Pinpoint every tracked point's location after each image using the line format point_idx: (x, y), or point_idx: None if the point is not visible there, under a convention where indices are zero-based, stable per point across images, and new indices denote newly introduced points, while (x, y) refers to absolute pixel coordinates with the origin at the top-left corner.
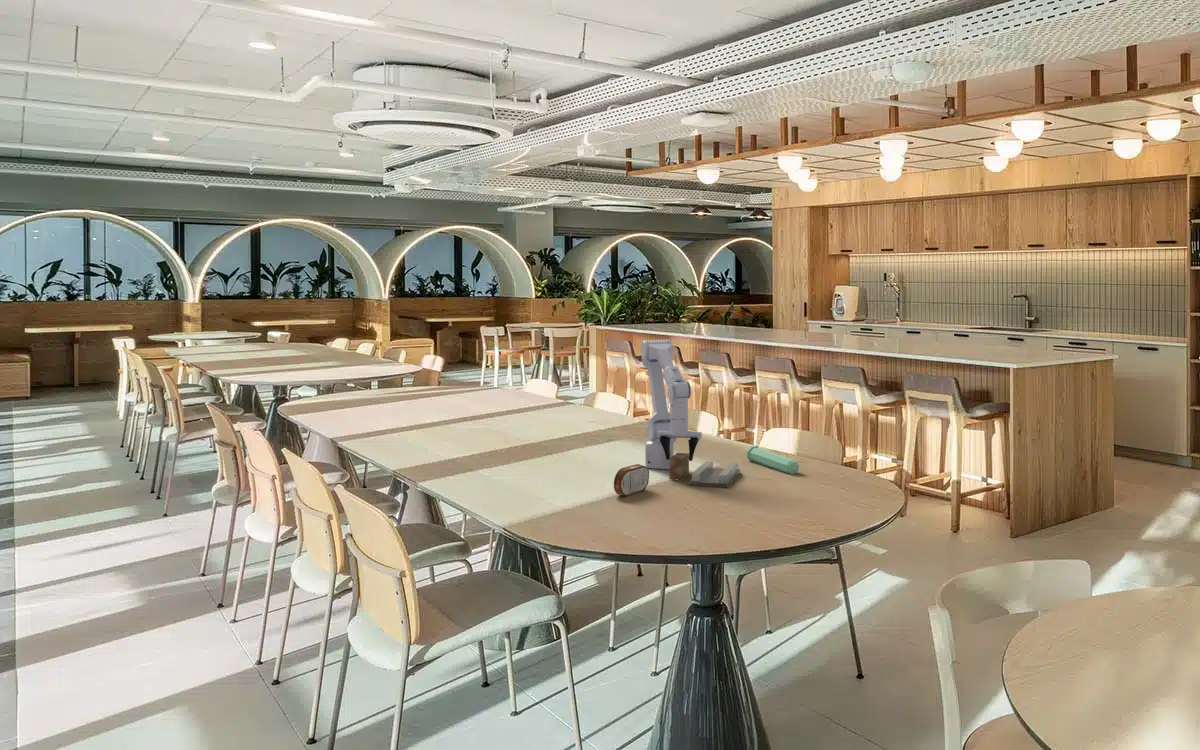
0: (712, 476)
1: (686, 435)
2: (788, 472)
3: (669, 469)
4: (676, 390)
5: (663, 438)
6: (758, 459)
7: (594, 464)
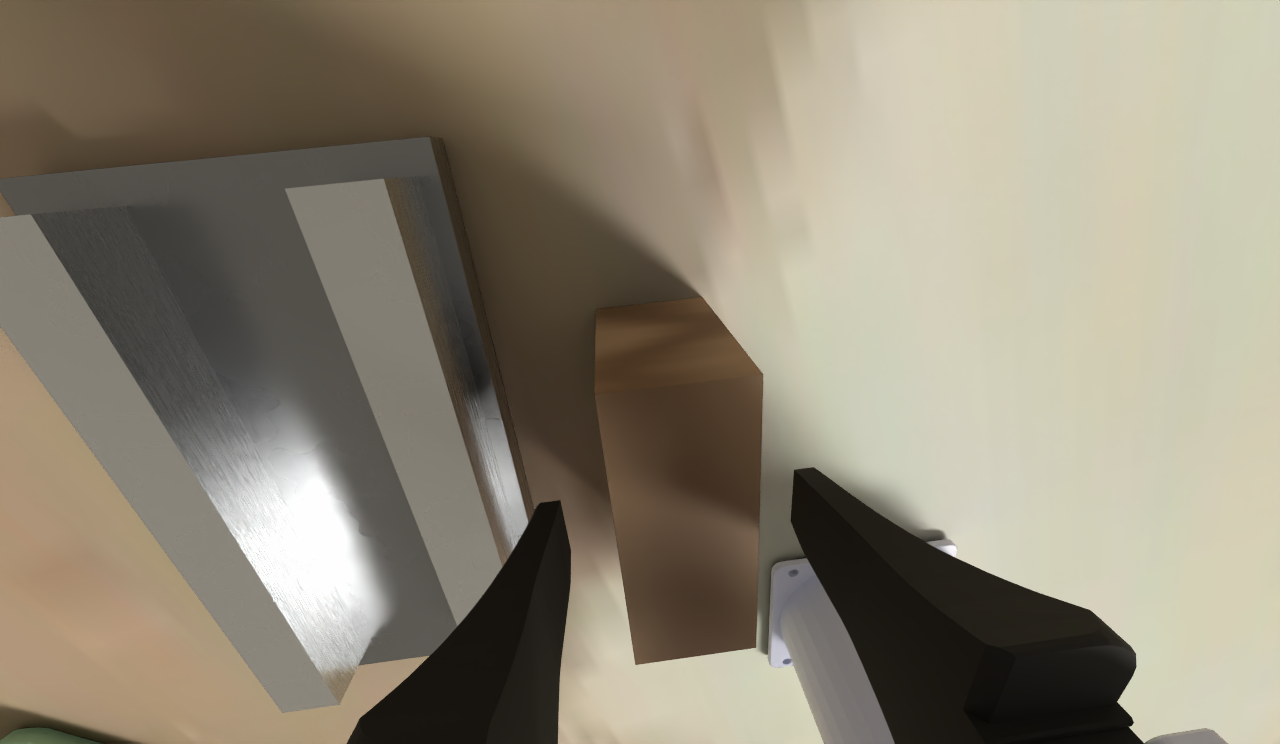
0: (349, 424)
1: None
2: (32, 734)
3: (724, 326)
4: None
5: (1059, 723)
6: None
7: (1277, 512)
